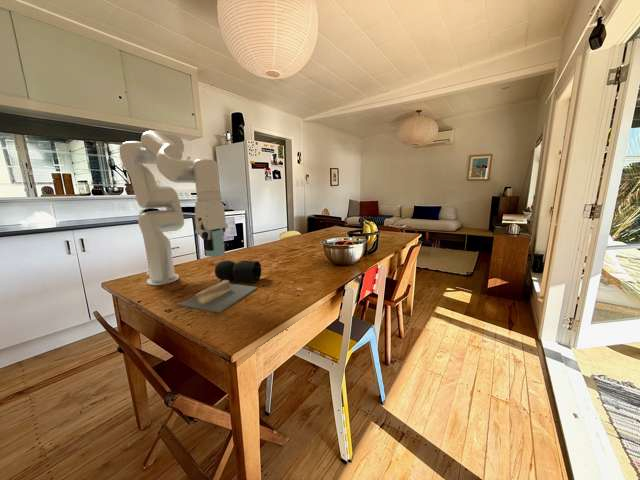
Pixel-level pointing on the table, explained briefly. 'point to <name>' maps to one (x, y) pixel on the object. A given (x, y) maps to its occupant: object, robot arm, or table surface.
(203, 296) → the plank
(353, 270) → the table surface
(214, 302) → the panel
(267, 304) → the table surface
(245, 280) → the figurine
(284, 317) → the table surface
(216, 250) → the block
